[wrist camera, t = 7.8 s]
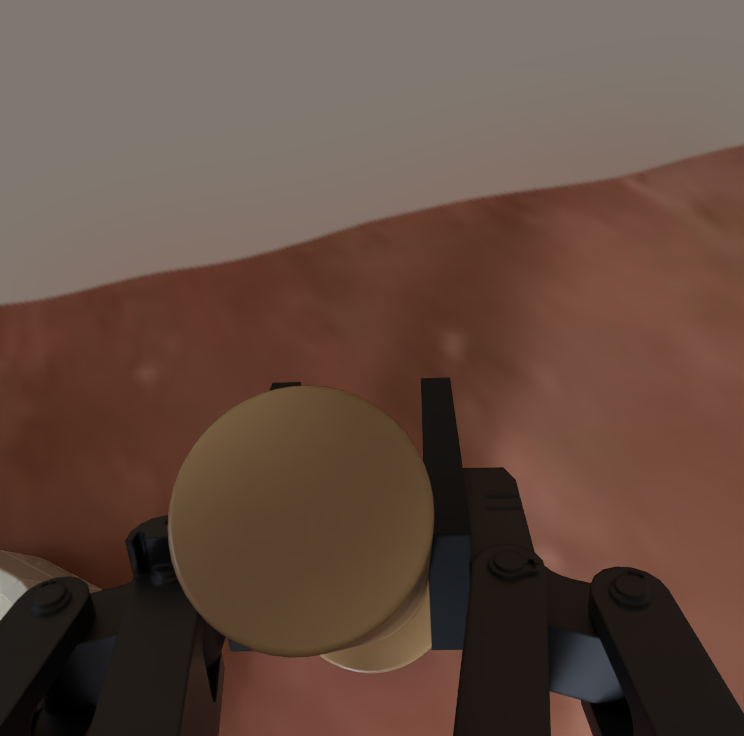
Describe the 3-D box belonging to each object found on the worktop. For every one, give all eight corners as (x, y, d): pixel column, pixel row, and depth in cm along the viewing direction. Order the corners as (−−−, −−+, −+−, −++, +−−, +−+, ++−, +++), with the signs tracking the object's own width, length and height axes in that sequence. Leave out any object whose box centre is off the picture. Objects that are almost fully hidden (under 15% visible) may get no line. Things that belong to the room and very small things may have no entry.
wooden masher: (282, 626, 23) (19, 618, 8) (344, 493, 24) (219, 274, 9) (416, 693, 22) (402, 828, 7) (473, 550, 23) (561, 409, 8)
